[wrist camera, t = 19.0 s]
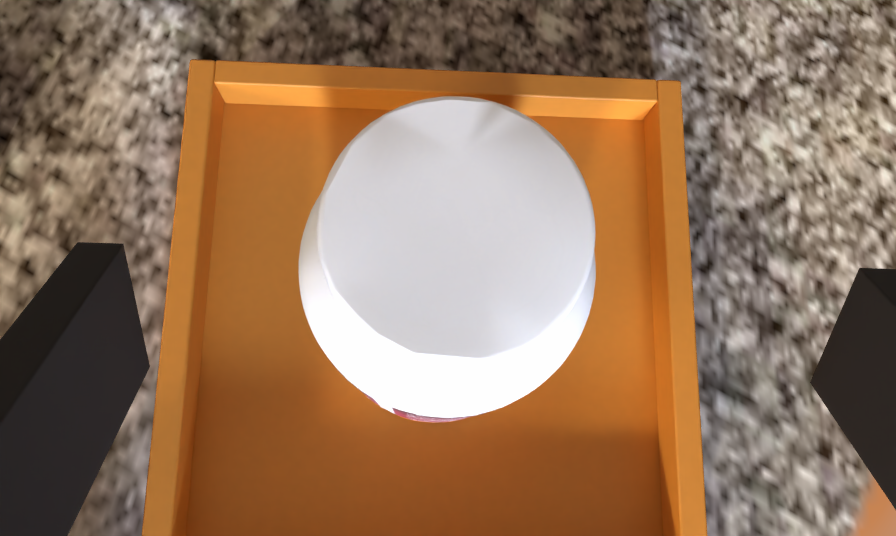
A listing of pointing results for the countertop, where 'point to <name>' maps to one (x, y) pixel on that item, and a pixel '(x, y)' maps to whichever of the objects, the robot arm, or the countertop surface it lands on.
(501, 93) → the amber tray
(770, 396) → the countertop surface
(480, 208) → the pill bottle
